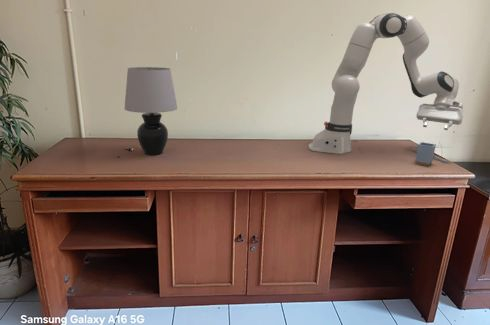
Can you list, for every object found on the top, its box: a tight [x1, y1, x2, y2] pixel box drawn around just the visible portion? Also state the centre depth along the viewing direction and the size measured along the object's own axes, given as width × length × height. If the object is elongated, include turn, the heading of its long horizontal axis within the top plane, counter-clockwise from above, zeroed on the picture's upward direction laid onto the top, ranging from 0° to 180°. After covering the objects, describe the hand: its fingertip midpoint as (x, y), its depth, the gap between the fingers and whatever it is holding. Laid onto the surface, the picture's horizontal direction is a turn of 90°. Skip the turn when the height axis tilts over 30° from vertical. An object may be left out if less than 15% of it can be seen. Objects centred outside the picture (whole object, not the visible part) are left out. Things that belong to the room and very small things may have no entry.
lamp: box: [124, 66, 178, 157], centre depth 167 cm, size 24×24×40 cm
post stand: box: [414, 160, 433, 168], centre depth 168 cm, size 6×6×6 cm
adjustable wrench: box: [411, 146, 450, 164], centre depth 182 cm, size 25×6×2 cm, turn 6°
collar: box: [414, 141, 437, 164], centre depth 168 cm, size 6×6×8 cm
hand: (435, 127), depth 174 cm, fingers open, 8 cm apart
